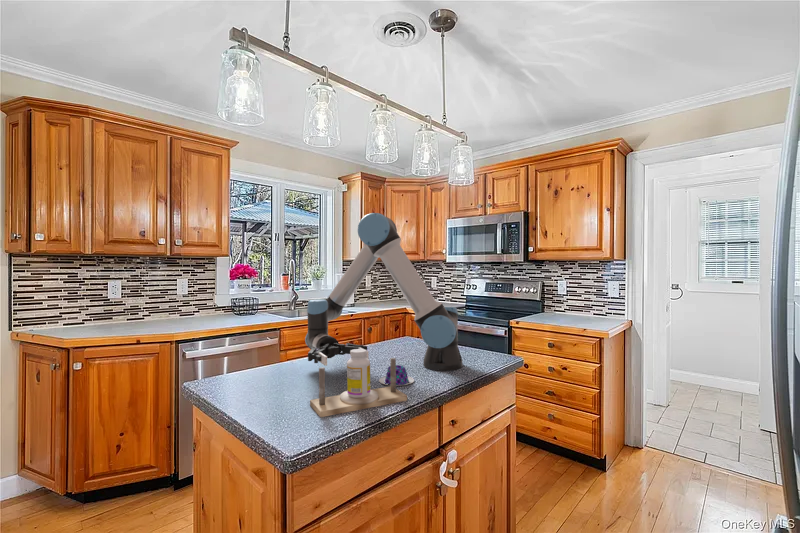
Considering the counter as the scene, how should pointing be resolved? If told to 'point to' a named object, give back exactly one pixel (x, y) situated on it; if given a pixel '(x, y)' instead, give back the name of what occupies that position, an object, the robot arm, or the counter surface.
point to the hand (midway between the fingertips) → (347, 358)
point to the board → (348, 404)
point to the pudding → (397, 376)
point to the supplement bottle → (358, 374)
